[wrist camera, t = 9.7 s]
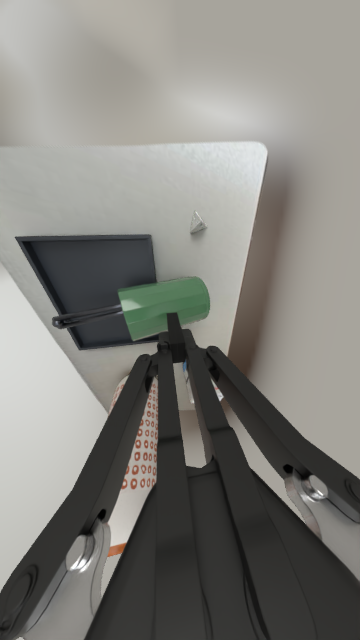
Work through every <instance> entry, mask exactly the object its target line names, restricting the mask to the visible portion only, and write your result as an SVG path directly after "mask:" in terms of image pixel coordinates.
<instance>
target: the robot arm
mask: <svg viewBox="0 0 360 640" xmlns="http://www.w3.org/2000/svg"><path fill="white" fill-rule="evenodd" d="M166 314H167V326H168V331H165V332H160V333H159V343H158V344H157V349H158V352H157V353H155V354H154V355H151V356H150V355H149V354H143V355H140V356H139V357H138V358H137V360H136V362H135V364H134V366H133V368H132V370H131V372H130V374H129V376H128V378H127V380H126V382H125V384H124V386H123V388H122V390H121V392H120V394H119V396H118V399H117V401H116V403H115V405H114V407H113V409H112V411H111V413H110V415H109V417H108V419H107V421H106V423H105V425H104V427H103V429H102V431H101V433H100V435H99V437H98V439H97V441H96V443H95V445H94V447H93V449H92V451H91V453H90V455H89V457H88V459H87V461H86V463H85V465H84V467H83V469H82V471H81V473H80V475H79V477H78V479H77V481H76V483H75V485H74V488H73V490H72V491H71V492H70V494H69V495H68V496H67V498H66V499H65V501H64V502H63V504H62V505H61V506H60V507H59V509H58V510H57V512H56V513H55V514H54V516H53V517H52V519H51V520H50V521H49V523H48V524H47V526H46V527H45V528H44V530H43V531H42V532H41V534H40V535H39V536H38V538H37V539H36V541H35V542H34V543H33V545H32V547H31V548H30V549H29V551H28V552H27V553H26V555H25V556H24V557H23V559H22V560H21V561H20V563H19V564H18V566H17V567H16V568H15V570H14V571H13V573H12V574H11V576H10V577H9V579H8V581H7V582H6V584H5V585H4V587H3V589H2V590H1V593H0V640H16V639H17V638H19V637H23V639H24V640H360V479H358V478H357V477H356V476H355V475H353V474H352V473H351V472H349V471H348V470H346V469H345V468H344V467H343V466H341V465H340V464H338V463H337V462H336V461H335V460H333V459H332V458H330V457H329V456H328V455H326V454H325V453H324V452H322V451H321V450H320V449H318V448H317V447H316V446H314V445H313V444H311V443H310V442H309V441H308V440H306V439H305V438H304V437H303V436H302V435H301V434H300V433H299V432H298V431H297V430H296V429H295V428H294V427H293V426H292V425H291V424H290V423H289V422H288V420H287V419H286V418H285V417H284V416H283V415H282V414H281V413H280V412H279V411H278V410H277V409H276V408H275V407H274V406H273V405H272V404H271V403H270V402H269V401H268V400H267V398H266V397H265V396H264V395H263V394H262V393H261V392H260V391H259V390H258V389H257V388H256V387H255V386H254V385H253V384H252V383H251V382H250V381H249V380H248V379H247V377H246V376H245V375H244V374H243V373H242V372H241V371H240V370H239V369H238V368H237V367H236V366H235V365H234V364H233V363H232V362H231V361H230V360H229V359H228V358H227V357H226V355H225V354H224V353H223V352H222V351H221V350H220V349H219V348H218V347H216V346H209V347H208V348H207V349H203V348H199V347H198V345H196V343H195V341H194V338H193V335H192V333H191V331H190V330H189V329H181V325H180V321H179V318H178V314H177V312H176V313H166ZM185 360H186V371H187V373H188V377H189V381H190V386H191V390H192V395H193V399H194V404H195V408H196V412H197V417H198V422H199V426H200V430H201V435H202V440H203V444H204V451H205V458H206V463H207V465H205V466H204V467H202V468H196V467H190V466H186V463H185V455H184V447H183V440H182V434H181V427H180V419H179V410H178V402H177V394H176V386H175V377H174V369H173V363H180V362H185ZM156 375H158V441H157V468H156V483H155V484H154V485H153V487H152V488H151V490H150V492H149V494H148V495H147V497H146V500H145V502H144V504H143V506H142V509H141V511H140V513H139V516H138V518H137V520H136V522H135V525H134V527H133V529H132V531H131V534H130V536H129V538H128V541H127V543H126V545H125V547H124V550H123V552H122V554H121V557H120V559H119V561H118V564H117V566H116V568H115V570H114V572H113V575H112V577H111V579H110V581H109V584H108V586H107V588H106V591H105V593H104V595H103V597H102V599H101V579H102V574H103V569H104V566H105V562H106V559H107V556H108V553H109V550H110V544H111V530H110V526H109V524H108V521H109V519H110V517H111V514H112V512H113V510H114V507H115V505H116V502H117V499H118V496H119V493H120V490H121V487H122V484H123V481H124V477H125V474H126V471H127V467H128V464H129V461H130V457H131V454H132V450H133V447H134V444H135V440H136V437H137V434H138V430H139V427H140V424H141V420H142V417H143V414H144V410H145V407H146V403H147V400H148V397H149V393H150V390H151V387H152V383H153V380H154V376H156ZM210 377H211V378H210ZM211 379H212V380H213V382H214V383H215V385H216V386H217V388H218V389H219V390H220V392H221V393H222V395H223V396H224V398H225V399H226V401H227V402H228V404H229V405H230V407H231V408H232V410H233V411H234V412H235V413H236V415H237V417H238V418H239V420H240V421H241V423H242V424H243V425H244V427H245V429H246V430H247V432H248V433H249V434H250V436H251V437H252V439H253V440H254V442H255V443H256V445H257V446H258V447H259V449H260V450H261V452H262V453H263V455H264V456H265V458H266V459H267V460H268V462H269V463H270V464H271V466H272V467H273V468H274V469H275V470H276V472H277V473H278V474H279V475H280V476H281V477H282V478H283V479H284V481H285V488H286V491H287V494H288V496H289V498H290V500H291V501H292V502H293V503H294V504H295V506H296V507H297V508H298V510H299V511H300V513H301V515H302V517H303V518H304V520H305V523H306V524H305V523H304V522H303V521H302V520H301V519H300V518H299V517H298V516H297V515H296V514H295V513H294V512H293V511H292V510H291V509H290V508H289V507H288V506H287V505H286V503H285V502H284V501H282V499H281V498H280V497H279V496H278V495H277V494H276V493H275V492H274V491H273V490H272V489H271V488H270V487H269V486H268V485H267V484H266V483H265V482H264V481H263V480H262V479H261V478H260V477H259V476H258V475H257V474H256V473H255V472H254V471H253V470H252V469H251V468H250V467H249V465H248V462H247V460H246V457H245V455H244V452H243V450H242V448H241V445H240V443H239V440H238V438H237V436H236V433H235V431H234V430H233V428H232V427H230V426H229V424H228V421H227V419H226V417H225V414H224V411H223V409H222V406H221V404H220V401H219V398H218V396H217V393H216V390H215V388H214V385H213V383H212V380H211Z"/></svg>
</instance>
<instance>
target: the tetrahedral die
mask: <svg viewBox="0 0 360 640" xmlns="http://www.w3.org/2000/svg"><path fill="white" fill-rule="evenodd" d="M204 228H207V225H206V224H205V223H204V221H203V220H202V218H201V217H200V216H199V214H198V213H197V212H196V210H195V211H194V216H193V220H192V225H191V229H190V233H193V232H196V231H198V230H201V229H204Z"/></svg>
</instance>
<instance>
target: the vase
mask: <svg viewBox="0 0 360 640" xmlns="http://www.w3.org/2000/svg"><path fill="white" fill-rule="evenodd" d="M128 376H129V375H128ZM128 376H126V377H125V378H124V379H123V380H122V381H121V382H120V383H119V384H118V386H117V388H116V390H115V393H114V396H113V400H112V403H111V407H110V411H109V415H110V413H111V411H112V409H113V407H114V405H115V403H116V401H117V399H118V396H119V394H120V392H121V390H122V388H123V386H124V384H125V382H126V380H127V378H128ZM109 415H108V417H109ZM107 419H108V418H107ZM157 441H158V381H157V379H156V378H155V377H154V380H153V383H152V387H151V390H150V393H149V397H148V400H147V403H146V407H145V410H144V414H143V417H142V420H141V424H140V427H139V430H138V434H137V437H136V440H135V444H134V447H133V450H132V454H131V457H130V461H129V464H128V467H127V471H126V474H125V477H124V481H123V484H122V487H121V490H120V493H119V496H118V499H117V502H116V505H115V507H114V510H113V512H112V514H111V517H110V519H109V521H108V524H109V526H110V530H111V544H110V550H109V553H108V556H107V557H110V556H113V555H117V554H120V553H122V552H123V550H124V547H125V545H126V543H127V541H128V538H129V536H130V534H131V531H132V529H133V527H134V525H135V522H136V520H137V518H138V516H139V513H140V511H141V509H142V506H143V504H144V502H145V500H146V497H147V495H148V494H149V492H150V490H151V488H152V487H153V485H154V484H155V483H156V468H157Z"/></svg>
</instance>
